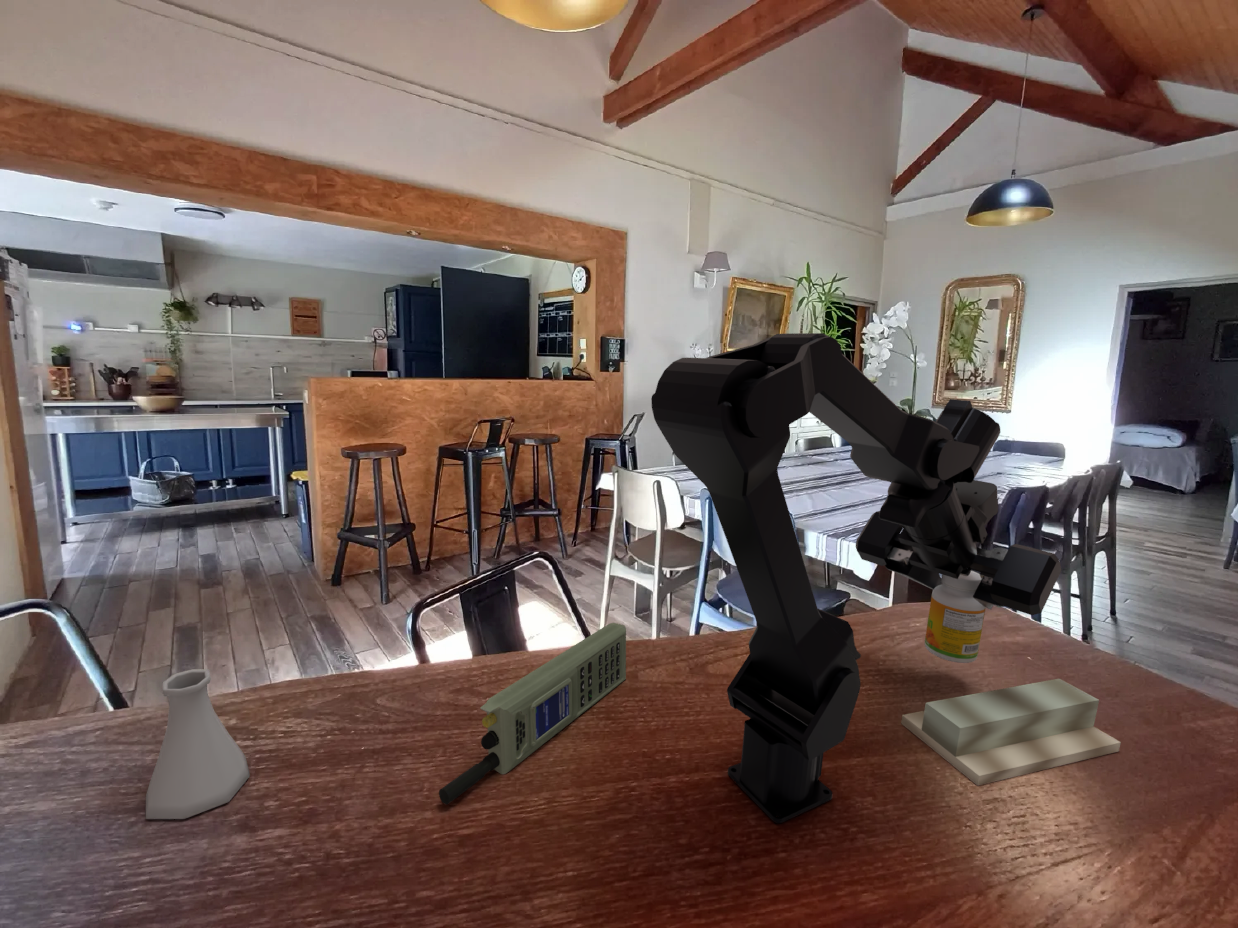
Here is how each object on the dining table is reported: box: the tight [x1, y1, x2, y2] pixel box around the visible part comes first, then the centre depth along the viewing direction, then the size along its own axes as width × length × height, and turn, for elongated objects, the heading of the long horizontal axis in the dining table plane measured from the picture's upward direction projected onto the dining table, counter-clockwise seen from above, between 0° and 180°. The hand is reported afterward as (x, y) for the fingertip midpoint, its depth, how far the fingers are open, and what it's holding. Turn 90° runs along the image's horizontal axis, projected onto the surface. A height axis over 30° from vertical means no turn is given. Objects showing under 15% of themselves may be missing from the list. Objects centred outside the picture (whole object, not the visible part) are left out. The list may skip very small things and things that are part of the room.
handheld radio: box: [438, 622, 627, 806], centre depth 56 cm, size 7×3×25 cm
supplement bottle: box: [924, 570, 987, 664], centre depth 66 cm, size 5×5×10 cm
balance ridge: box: [900, 678, 1121, 787], centre depth 58 cm, size 18×9×4 cm, turn 107°
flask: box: [145, 668, 251, 820], centre depth 47 cm, size 7×7×10 cm
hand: (964, 596), depth 66 cm, fingers closed on supplement bottle, 5 cm apart
